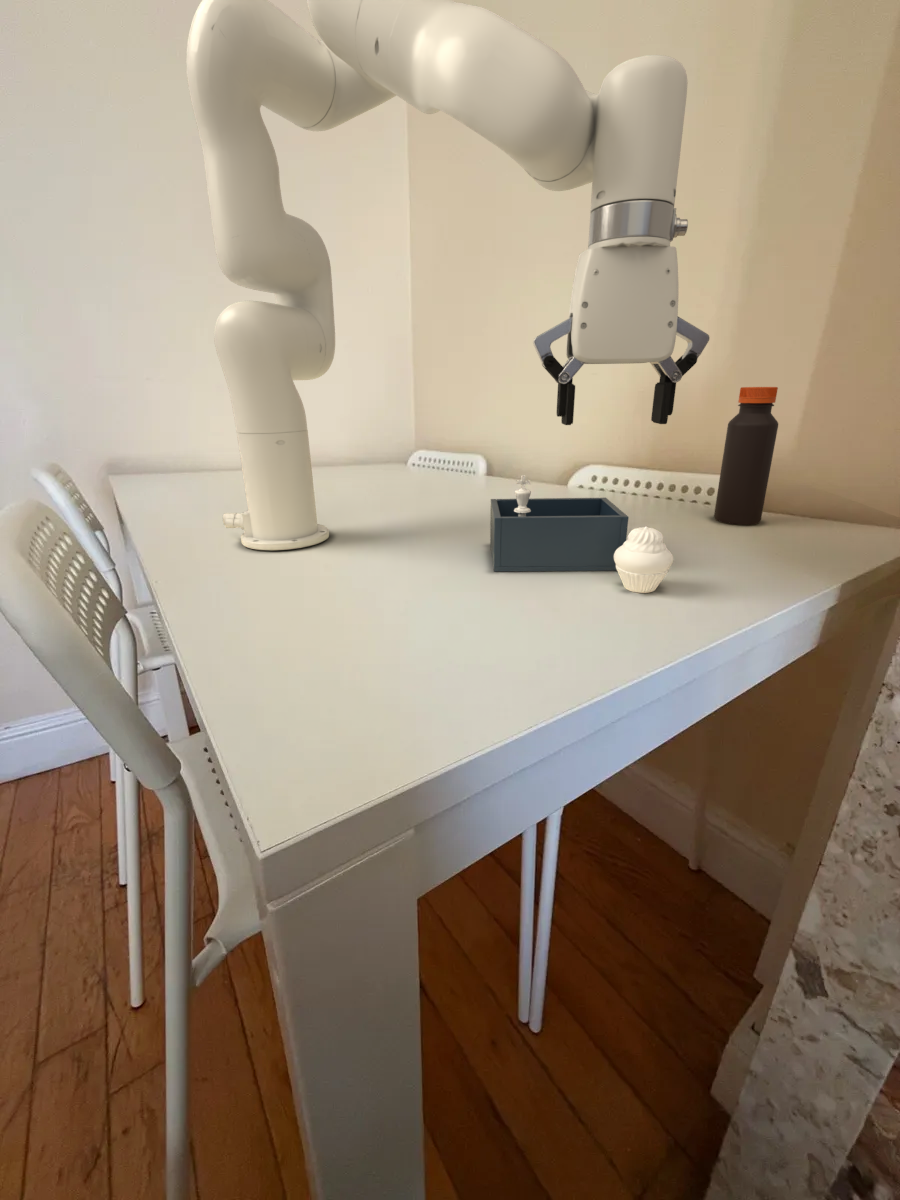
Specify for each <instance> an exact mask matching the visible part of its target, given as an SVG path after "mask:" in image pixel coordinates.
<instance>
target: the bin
mask: <svg viewBox="0 0 900 1200" xmlns="http://www.w3.org/2000/svg"><path fill="white" fill-rule="evenodd" d="M526 506H527V508H530V510H531V512H529V513H526V516H523V517H518V513H516V512H514V509H515V508H518V503H517V499H516V498H491V499H490V524H489V525H490V527H489V528H490V529H489V530H490V531H489V533H490V534H489V535H490V536H489V538H490V539H489V540H490V542H489V546H490V553H491V562H492V567H493V572H584V571H585V572H593V571H595V572H596V571H597V572H598V571H599V572H601V571H602V572H608V571H609V572H611V571H613V572H615V571H617V569H616V563H615V561H614V553H615V551H616V550H617V549H618V548H619V547H620V546H622V545H623V543H624V542H625V541H626V540H627V539H628V528H629V517H630V516H628V514H626V513H625V512H623V511H622V510H621V508H619V507H618V506H616V505H615V504H614V503H613V502H612V501H611V500H610V499H608V497H548V498H547V497H541V498H539V497H538V498H529V499H528V503H527V505H526ZM617 572H618V571H617Z"/></svg>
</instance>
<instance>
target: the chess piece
mask: <svg viewBox="0 0 900 1200" xmlns="http://www.w3.org/2000/svg"><path fill="white" fill-rule="evenodd" d="M520 477H521V478H520V480H519V479H517V480H515V485H520V488H518V489H515V491H514V496H515V499H517V503H518V508H515V509H514V512H516V513H518V517H523V516H526V513H529V512H531V510H530V508H527V506H526V505H527V503H528V499H530V498H531V497H530V496H531V493H532V491H531V490H530V489H527V488H526V485H531V480H530V479H526V475H525V474H521V476H520Z"/></svg>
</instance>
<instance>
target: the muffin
mask: <svg viewBox="0 0 900 1200" xmlns="http://www.w3.org/2000/svg"><path fill="white" fill-rule="evenodd" d="M663 540H664V535H663V533H662V532H660V531H659V530H658V529H656V528H653V527H648V526H643V527H641V526H640V527H636V528H634V529H632V530H631V531H630V532H629V533H628V534H627V539H626V541H625V542H624V543H623V545H622V546H620V547H619V548H618V549H617V550H616V551H615V553H614V561H615V563H616V569H617V574H618V575H619V576H618V577H619V578H620V580H621V582H622V585H623V587H624V589H626V590H627V591H629V592H633V593H639V594H647V593H648V594H649V593H653V592H655V591H656V589H657V588H658V586H659V585H660V584H661V583H662V581H663V580H664V579H665V577H666V576H667V574H668V573H669V571H670V568H671V567H672V566H673V564H674V555H673V553H672V552H671V551H670V550H669V549H668V548H667V545H666V544H665V542H664V541H663Z"/></svg>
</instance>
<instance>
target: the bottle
mask: <svg viewBox="0 0 900 1200" xmlns="http://www.w3.org/2000/svg"><path fill="white" fill-rule="evenodd" d="M778 389H779V388H778V387H777V386H742V387H740V389H739V394H738V401H737V403H739V404H738V405H737V406H738V407H739V410H738V413H737V414H735V416H734V417H733V418H732V419H730V420H729V421H728V424H727V427H726V434H725V440H724V447H723V452H722V453H723V454H722V459H721V460H722V461H721V467H720V474H719V481H718V485H717V486H718V487H717V492H716V499H715V506H714V512H713V513H714V514H713V518H714V520H715V521H717V522H719V523H721V524H722V523H723V524H727V525H735V526H754V525H758V524H760V523H761V520H762V516H763V511H764V505H765V504H764V503H765V499H766V496H767V495H766V494H767V489H768V483H769V478H770V472H771V467H772V461H773V456H774V451H775V445H776V440H777V436H778V435H777V434H778V430H779V422H778V420H777V419H776V418H775V416H774V415H773V414H772V409H773V407H775V404H776V401H777V395H778ZM774 403H775V404H774Z"/></svg>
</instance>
